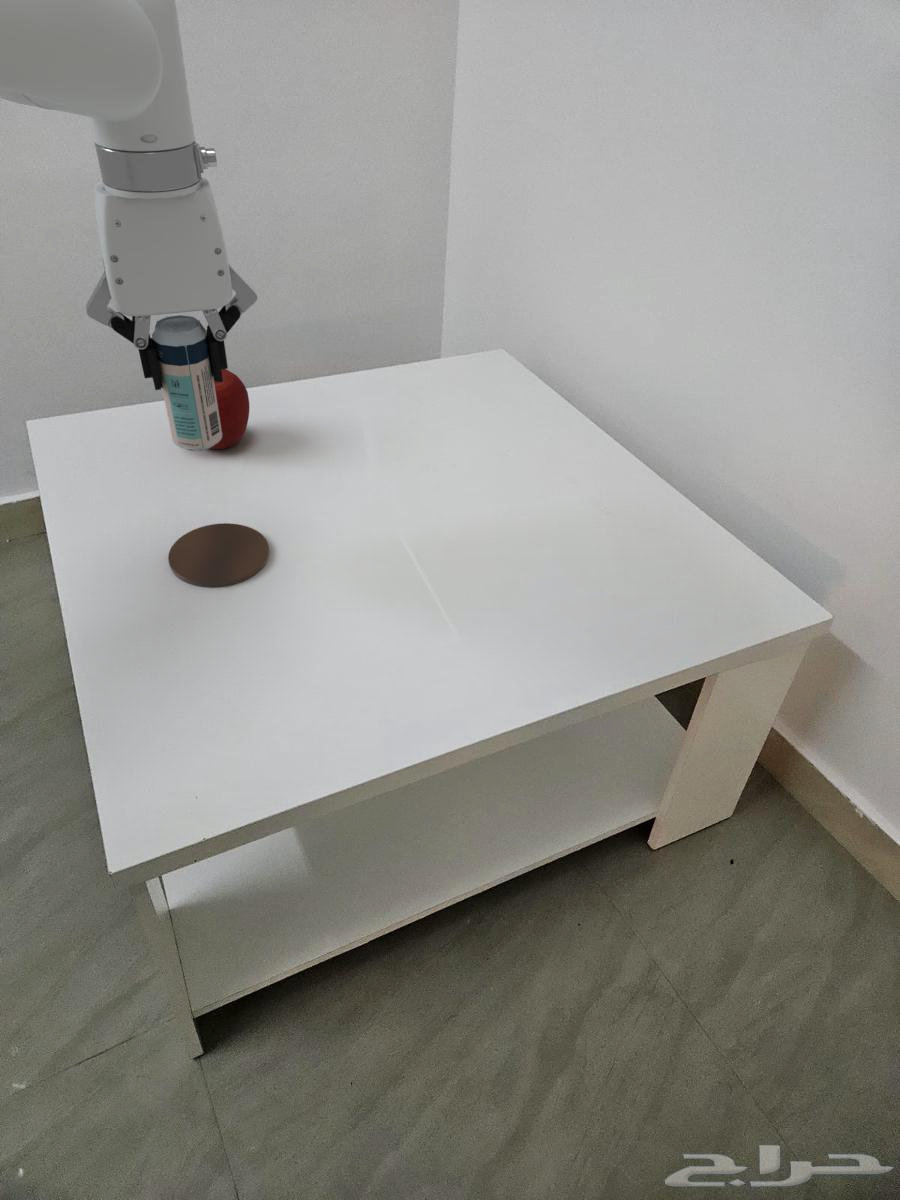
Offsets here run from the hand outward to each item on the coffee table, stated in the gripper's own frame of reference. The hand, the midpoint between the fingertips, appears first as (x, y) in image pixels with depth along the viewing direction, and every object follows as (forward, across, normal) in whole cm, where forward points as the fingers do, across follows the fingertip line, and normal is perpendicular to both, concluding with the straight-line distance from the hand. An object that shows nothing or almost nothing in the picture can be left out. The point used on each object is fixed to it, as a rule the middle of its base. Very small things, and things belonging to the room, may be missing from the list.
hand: (187, 378), depth 77 cm
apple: (+22, -4, -26) cm, 35 cm away
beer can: (+7, 0, 0) cm, 7 cm away
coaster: (+22, 0, -1) cm, 22 cm away
